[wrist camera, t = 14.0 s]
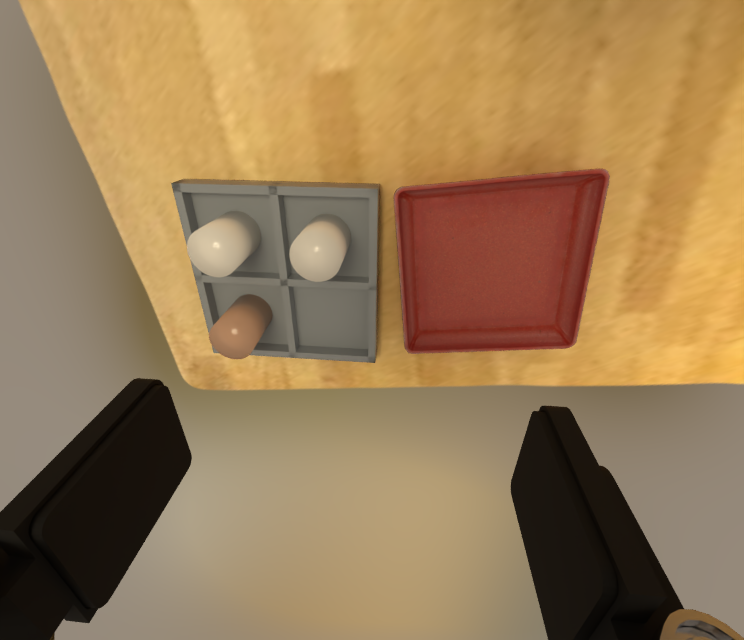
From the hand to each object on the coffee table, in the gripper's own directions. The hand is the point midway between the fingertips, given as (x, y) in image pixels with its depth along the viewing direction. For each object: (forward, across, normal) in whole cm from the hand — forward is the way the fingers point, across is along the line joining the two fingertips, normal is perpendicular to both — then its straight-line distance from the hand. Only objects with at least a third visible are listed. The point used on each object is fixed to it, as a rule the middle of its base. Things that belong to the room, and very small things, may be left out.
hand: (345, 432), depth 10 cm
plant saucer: (+31, -10, +7) cm, 33 cm away
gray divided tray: (+30, +11, +9) cm, 33 cm away
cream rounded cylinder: (+30, +6, +4) cm, 30 cm away
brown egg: (+30, +16, +14) cm, 36 cm away
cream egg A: (+30, +16, +4) cm, 34 cm away
